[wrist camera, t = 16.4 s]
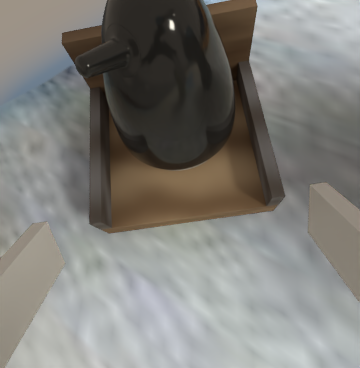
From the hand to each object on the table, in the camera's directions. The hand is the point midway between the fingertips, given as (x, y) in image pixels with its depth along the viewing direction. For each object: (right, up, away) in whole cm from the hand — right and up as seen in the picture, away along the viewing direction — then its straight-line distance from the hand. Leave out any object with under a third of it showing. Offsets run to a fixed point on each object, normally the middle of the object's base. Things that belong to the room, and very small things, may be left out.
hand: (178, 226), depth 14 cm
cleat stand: (0, +5, +15) cm, 16 cm away
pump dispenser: (0, +7, +13) cm, 15 cm away
